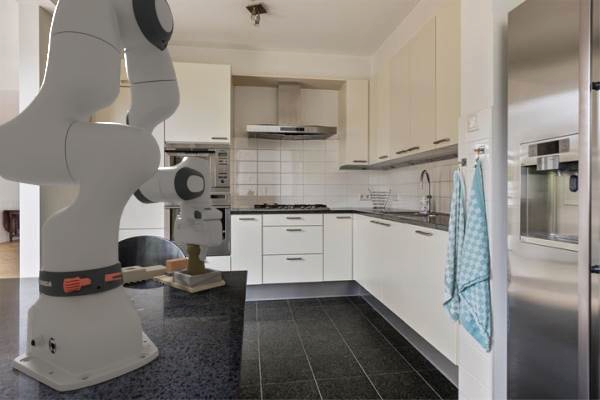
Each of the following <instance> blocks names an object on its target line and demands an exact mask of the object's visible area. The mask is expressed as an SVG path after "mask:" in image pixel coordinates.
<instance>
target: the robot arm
mask: <svg viewBox="0 0 600 400" xmlns="http://www.w3.org/2000/svg"><path fill="white" fill-rule="evenodd" d="M174 25H175V23H174V18H173V13H172V10H171V7H170V5H169V3H168V0H57V4H56V6H55V9H54V12H53V16H52V21H51V25H50V31H49V38H48V39H49V40H48V42H49V43H48V49H47V50H48V51H47V52H48V53H47V60H46V67H45V72H44V78H43V81H42V84H41V86H40V88H39V90H38V92H37V94H36V95H35V97H34V98H33V100H31V102H30V103H29V104H28V105H27V107H25V109H23V110H22V111H21V112H20V113H19V114H18V115H16V116H15V117H14V118H12V119H10V120H8V121H7V122H5V123H2V124H0V177H1V178H2V179H4V180H6V181H11V182H16V183H20V184H27V185H32V186H33V185H34V186H37V187H38V186H40V187H43V186H45V187H46V186H52V187H53V186H61V187H63V186H67V187H68V186H69V187H70V186H78V187H79V192H78V194H77V197H76V199H75V200H74V201H73V202H72V204H70V205H68V206H65V207H64V208H61V209H59V210H57V211H56V212H54V213H52V214H51V215H49V217H47V219H46V220H45V222H44V223H43V225H42V228H41V255H42V256H41V259H42V261H41V262H42V263H41V264H42V265H41V266H42V267H41V269H40V270H39V271H38V272H39V273H38V274H39V275H38V279H37V281H38V282H37V283H38V291H39V293H41V294H40V296H39V297H38V299H37V300H36V301H35V302H34V303H33V304H31V306H30V307H29V308H28V309H27V321H26V322H27V324H26V325H27V326H26V327H27V328H26V352H24V353H22V354H21V355H19V356H17V357H15V358H14V359H13V363H12V368H13V369H16V370H18V371H20V372H21V373H23V374H25V375H27V376H29V377H30V378H32V379H35V380H37V381H38V382H40V383H43V384H44V385H46V386H48V387H51V389H54V390H55V391H58V392H67V391H74V390H79V389H83V388H86V387H91V386H95V385H98V384H101V383H104V382H107V381H109V380H111V379H115V378H117V377H120V376H122V375H125V374H127V373H130V372H132V371H135V370H138V369H139V368H141V367H143V366H145V365H147V364H149V363H151V362H152V361H154V360H155V359H156V358H157V357H158V356H159V355H160V353H159V349H158V347H157V345H156V344H155V343H154V342H153V341H152V340H151V339H150V337H149V336H148V335H147V334H146V332H145V331H144V330H143V324H142V323H144V322H146V319H147V313H146V310H145V308H138V309H137V308H136V307H135V305H136V301H135V298H133V297H132V298H130V296H129V294H128V292H127V290H126V289H125V287H124V284H123V283H124V279H123V270H122V268H123V267H122V265H121V264H122V263H121V262H120V261H119V240H120V239H119V237H120V235H119V234H120V224H121V218H122V215H123V212H124V210H125V207H126V205H127V204H128V202H129V200H130V199H131V197H132V196H134V197H135V199H137V200H138V201H139V202H140V203H141V204H146V205H147V204H148V205H149V204H156V203H174V202H175V203H177V202H178V203H179V204H180V205H179V210H180V212H179V213H178V214H177V215H176V218H175V220H174V227H173V239H174V241H175V242H177V243H183V244H184V248H185V250H186V252H187V247H188V245H190V244H195V245H200V249H201V251H200V254H198V260H200V261H204V262H205V261H206V260H207V254H208V252H209V249H210V248H212V247H218V246H221V244H222V242H223V223H222V218H223V212H222V211H221V210H219V209H218V208H216V207H215V206H213V205H212V198H211V192H212V191H211V190H212V173H211V168H210V163H209V161H208V160H207V159H205V158H204V157H200V156H196V155H195V156H193V155H191V156H189V155H188V156H184V157H182V159H181V162H179V163H177V164H175V165H172V166H171V165H170V166H160V164H161V158H162V157H161V156H162V155H161V149H160V145H159V143H158V141H157V140H156V138H155V137H154V135H153V131H154V130H155V128H156V127H157V126H158V125H160V124H161V123H163V122H165V121H167V120H168V119H169V118H171V117H172V116H173V115H174V114H175V113H176V111H177V109H178V108H179V105H180V102H181V96H180V95H181V94H180V89H179V84H178V80H177V75H176V74H177V73H176V71H175V66H174V64H173V60H172V57H171V55H170V54H171V53H170V52H169V49H168V44H169V42H170V40H171V39H172V35H173V32H174ZM122 50H123V53H124V60H125V68H126V69H125V70H126V76H127V80H128V84H129V88H130V107H129V109H128V110H127V113H126V116H125V123H121V122H120V123H119V122H100V121H99V122H97V121H95V122H94V121H93V122H92V121H91V122H90V121H88V120H89V119H90V118H91V117H92V116H93V115H95V113H98V112H99V111H100V112H101V111H102V110H105V109H106V108H108V107H110V106H112V105H113V104H114V103H115V102H116V100H117V98H118V97H119V94H120V88H121V69H122V68H121V67H122V66H121V65H122ZM188 258H189V255H188V253H187V259H188Z"/></svg>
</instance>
